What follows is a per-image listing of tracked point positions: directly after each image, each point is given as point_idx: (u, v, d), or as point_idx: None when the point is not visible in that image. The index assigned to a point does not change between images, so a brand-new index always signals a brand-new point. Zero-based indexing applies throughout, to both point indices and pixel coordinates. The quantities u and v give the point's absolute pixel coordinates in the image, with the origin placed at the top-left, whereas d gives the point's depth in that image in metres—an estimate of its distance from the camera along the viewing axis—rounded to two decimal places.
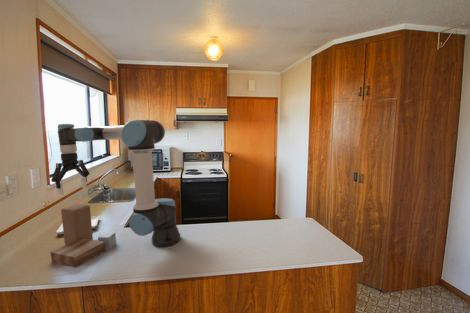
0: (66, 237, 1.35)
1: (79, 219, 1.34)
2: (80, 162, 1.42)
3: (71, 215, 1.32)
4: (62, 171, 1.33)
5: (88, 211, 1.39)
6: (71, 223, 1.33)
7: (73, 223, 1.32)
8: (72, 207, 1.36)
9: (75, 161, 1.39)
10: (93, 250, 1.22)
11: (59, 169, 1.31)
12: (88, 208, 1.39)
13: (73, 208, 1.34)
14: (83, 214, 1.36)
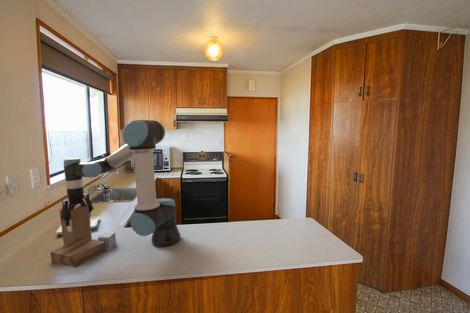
0: (64, 237, 1.35)
1: (77, 219, 1.33)
2: (86, 196, 1.40)
3: None
4: (69, 208, 1.32)
5: (86, 211, 1.39)
6: None
7: None
8: None
9: (81, 195, 1.37)
10: (93, 250, 1.22)
11: (66, 207, 1.29)
12: (86, 208, 1.39)
13: None
14: (82, 214, 1.36)
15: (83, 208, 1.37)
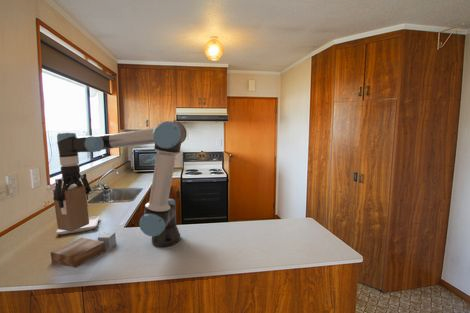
0: (59, 221, 1.21)
1: (72, 200, 1.19)
2: (83, 176, 1.26)
3: None
4: (64, 187, 1.18)
5: (83, 192, 1.24)
6: None
7: None
8: None
9: (77, 174, 1.23)
10: (93, 250, 1.22)
11: (60, 186, 1.15)
12: (83, 189, 1.24)
13: None
14: (77, 195, 1.22)
15: (79, 189, 1.23)
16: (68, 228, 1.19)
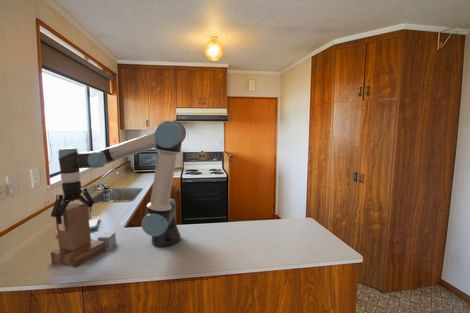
0: (60, 240, 1.19)
1: (74, 220, 1.18)
2: (84, 191, 1.25)
3: (65, 215, 1.16)
4: (63, 203, 1.16)
5: (85, 211, 1.23)
6: (65, 225, 1.17)
7: (67, 225, 1.16)
8: (67, 207, 1.20)
9: (78, 190, 1.21)
10: (93, 250, 1.22)
11: (60, 202, 1.13)
12: (85, 208, 1.23)
13: (68, 208, 1.18)
14: (80, 215, 1.20)
15: (81, 208, 1.21)
16: (70, 248, 1.18)
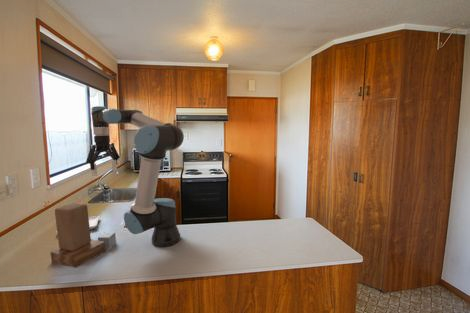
0: (60, 240, 1.19)
1: (74, 220, 1.18)
2: (111, 145, 1.45)
3: (65, 215, 1.16)
4: (96, 153, 1.36)
5: (85, 211, 1.23)
6: (65, 225, 1.17)
7: (67, 225, 1.16)
8: (67, 207, 1.20)
9: (107, 144, 1.42)
10: (93, 250, 1.22)
11: (93, 150, 1.33)
12: (85, 208, 1.23)
13: (68, 208, 1.18)
14: (80, 215, 1.20)
15: (81, 208, 1.21)
16: (70, 248, 1.18)
